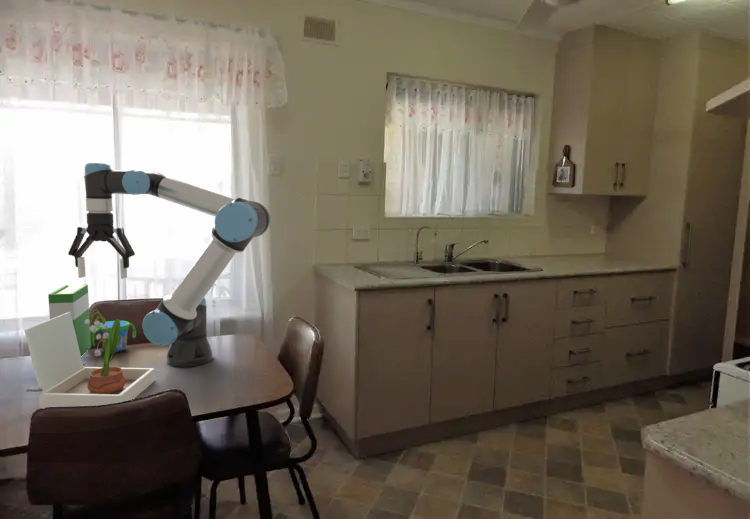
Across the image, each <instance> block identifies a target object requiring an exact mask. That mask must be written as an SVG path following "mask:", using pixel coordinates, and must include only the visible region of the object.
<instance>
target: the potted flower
mask: <svg viewBox="0 0 750 519" xmlns="http://www.w3.org/2000/svg"><path fill="white" fill-rule="evenodd" d="M90 314H91V315H89V317H91V318H90V320H89V319H86V320H85V323H84V324H89V323H90V333H92V332H94V331H97V329H96V328H97V327H98V326H101V324H100V323H103V325H102V328H101V329H102V330H104V334H103V337H102V338H104V339H101V335H100V334H99V330H100V329H99V330H98V331H97V334H95V340H99V342H98V343H97V347H96V349H95V350H94V357H95V356H96V357H98V356H101V355H102V351H101V350H100V349H98V348H99V345H100V343H101V341H102V340H105V346H104V351H103V366H102V367H103V368H99V369H96V370H93V371H92V372H90V374H89V375H90V380H89V382H88V387H87V388H88V390H89V391H90V392H91V393H94V394H111V393H114V392H117V391H119V390H120V389H122V388H123V387H124V385H125V383H126V382H125V378H124V376H123V374H122V371H123V369H121V368H122V367H118V366H110V363H111V361H112V360H113V359H112V358H113V356H114V354H115V353H116V352H115V350H116V348H117V345H118V341H119V338H120V321H121V320H120V319H119V318H117V319H115V320H113V321H114V324H113V326H112V328H111V331H110V333H107V325H106V324H105V322H106V317H104V316H103V314H102V313H101V312H99V309H98V308H95V309H94V310H92V312H91V313H90ZM96 315H97V316H96ZM94 316H96V318H95V319H94V321H93V318H94ZM99 319H101V321H100V320H99ZM93 324H94V325H93ZM114 352H115V353H114Z"/></svg>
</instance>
